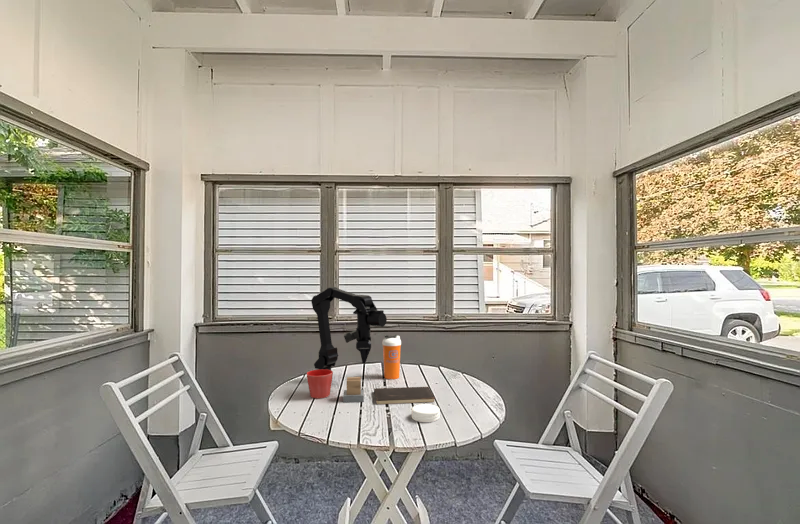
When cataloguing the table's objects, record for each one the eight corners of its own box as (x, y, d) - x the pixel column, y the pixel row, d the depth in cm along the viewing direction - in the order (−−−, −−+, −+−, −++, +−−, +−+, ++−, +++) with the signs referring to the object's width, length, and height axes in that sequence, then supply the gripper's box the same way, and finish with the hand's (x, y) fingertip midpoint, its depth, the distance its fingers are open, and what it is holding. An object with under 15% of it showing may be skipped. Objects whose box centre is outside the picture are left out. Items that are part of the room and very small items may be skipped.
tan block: (347, 390, 182) (347, 377, 182) (360, 390, 183) (360, 376, 183) (346, 394, 177) (346, 381, 177) (360, 394, 177) (360, 380, 177)
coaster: (422, 411, 166) (422, 401, 166) (445, 417, 160) (445, 407, 160) (405, 418, 158) (405, 408, 158) (429, 425, 152) (428, 415, 152)
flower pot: (300, 397, 182) (300, 373, 182) (317, 390, 191) (317, 367, 191) (321, 401, 177) (321, 376, 177) (338, 394, 186) (338, 370, 186)
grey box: (344, 396, 184) (344, 390, 184) (363, 395, 184) (363, 389, 184) (343, 402, 176) (343, 396, 176) (363, 401, 176) (363, 395, 176)
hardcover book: (435, 403, 175) (435, 397, 175) (376, 406, 173) (376, 400, 173) (428, 391, 191) (428, 386, 191) (374, 393, 189) (374, 388, 189)
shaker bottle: (379, 376, 214) (379, 334, 214) (396, 374, 218) (396, 332, 218) (386, 380, 206) (386, 337, 206) (404, 378, 210) (404, 335, 210)
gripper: (346, 321, 203) (346, 356, 203) (343, 328, 184) (344, 366, 184) (370, 321, 203) (370, 356, 203) (371, 328, 185) (371, 365, 185)
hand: (363, 360), depth 194 cm, fingers open, 9 cm apart
